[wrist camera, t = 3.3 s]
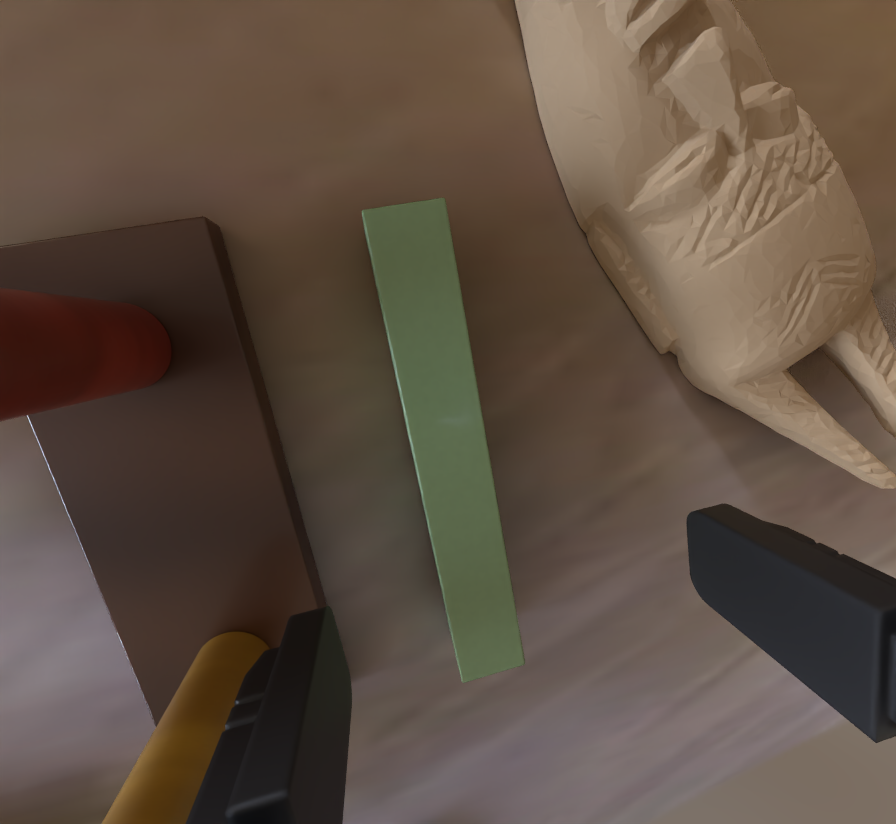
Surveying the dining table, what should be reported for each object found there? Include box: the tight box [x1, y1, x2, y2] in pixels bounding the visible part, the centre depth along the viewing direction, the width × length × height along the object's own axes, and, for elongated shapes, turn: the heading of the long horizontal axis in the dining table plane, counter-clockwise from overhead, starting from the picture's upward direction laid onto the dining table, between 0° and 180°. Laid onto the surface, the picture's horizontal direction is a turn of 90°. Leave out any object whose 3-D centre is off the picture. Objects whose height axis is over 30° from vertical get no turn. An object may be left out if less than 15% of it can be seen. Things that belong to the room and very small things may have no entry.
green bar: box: [362, 198, 525, 683], centre depth 18 cm, size 20×3×3 cm, turn 11°
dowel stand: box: [0, 216, 327, 824], centre depth 13 cm, size 22×8×10 cm, turn 11°
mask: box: [515, 0, 896, 489], centre depth 18 cm, size 10×5×30 cm
